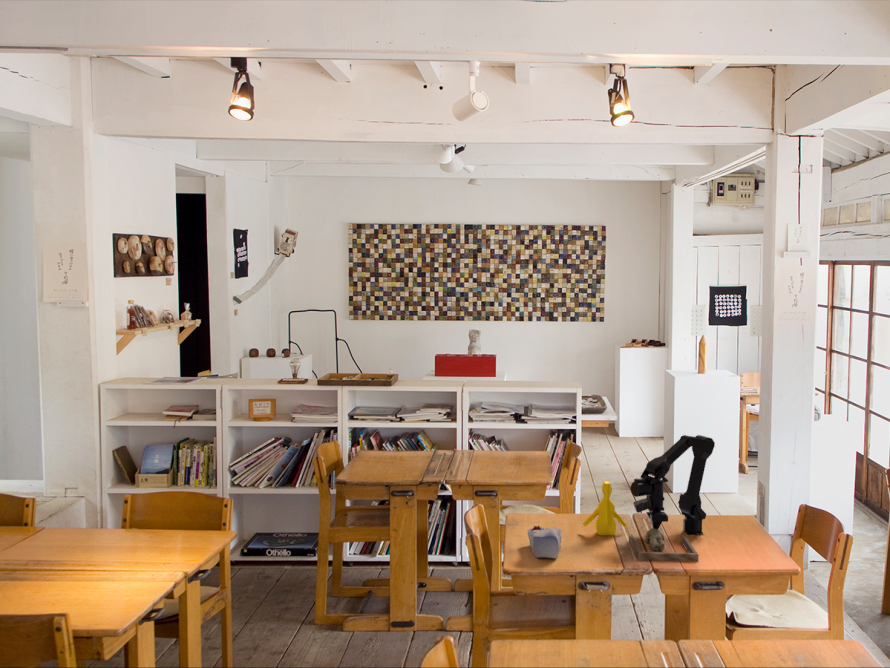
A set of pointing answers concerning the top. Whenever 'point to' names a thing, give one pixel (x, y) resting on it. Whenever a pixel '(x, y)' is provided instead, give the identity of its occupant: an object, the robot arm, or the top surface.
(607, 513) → the figure statuette
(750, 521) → the top surface
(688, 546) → the holder
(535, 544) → the grey tapered container
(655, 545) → the sculpture
